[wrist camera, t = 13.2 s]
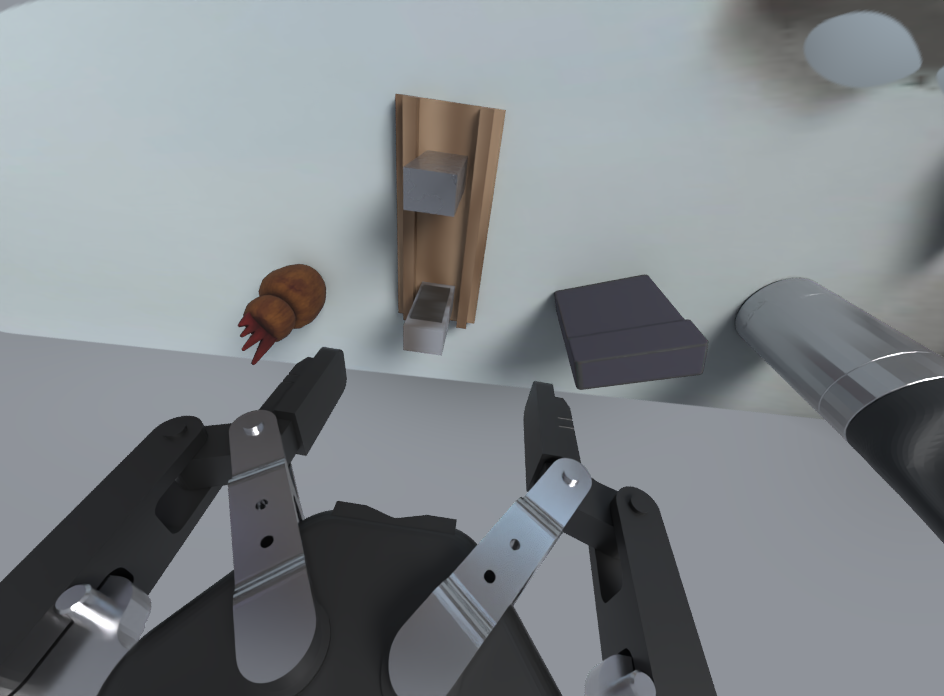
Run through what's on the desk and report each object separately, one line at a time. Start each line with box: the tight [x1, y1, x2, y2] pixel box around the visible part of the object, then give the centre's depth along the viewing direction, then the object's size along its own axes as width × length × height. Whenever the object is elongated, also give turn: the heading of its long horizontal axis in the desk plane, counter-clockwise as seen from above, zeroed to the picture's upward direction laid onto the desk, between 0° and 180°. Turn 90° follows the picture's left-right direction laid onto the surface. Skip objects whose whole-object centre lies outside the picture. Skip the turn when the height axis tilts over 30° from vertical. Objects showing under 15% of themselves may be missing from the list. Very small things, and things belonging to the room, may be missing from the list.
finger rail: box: [395, 94, 506, 355], centre depth 34 cm, size 10×23×12 cm, turn 173°
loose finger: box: [403, 150, 468, 217], centre depth 29 cm, size 4×3×10 cm
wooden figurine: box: [238, 264, 326, 365], centre depth 38 cm, size 7×6×15 cm
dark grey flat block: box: [554, 275, 709, 390], centre depth 36 cm, size 11×4×15 cm, turn 104°
